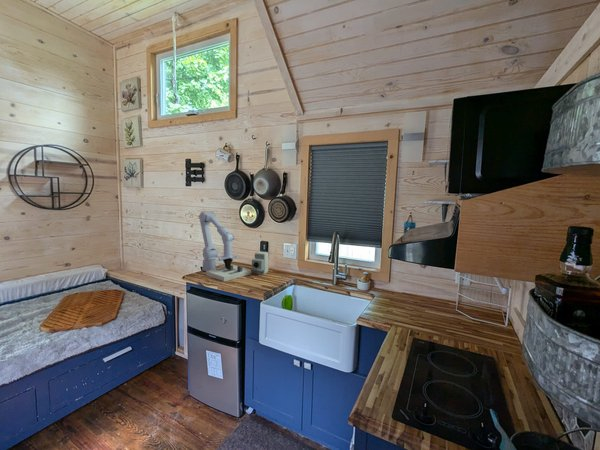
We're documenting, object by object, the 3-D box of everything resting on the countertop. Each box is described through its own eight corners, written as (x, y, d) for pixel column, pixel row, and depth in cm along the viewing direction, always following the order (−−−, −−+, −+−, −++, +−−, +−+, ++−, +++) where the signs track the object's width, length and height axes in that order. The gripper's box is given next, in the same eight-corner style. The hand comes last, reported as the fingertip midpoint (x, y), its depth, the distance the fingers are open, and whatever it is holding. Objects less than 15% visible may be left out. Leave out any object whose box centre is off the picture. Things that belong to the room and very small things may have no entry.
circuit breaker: (250, 275, 205) (251, 255, 203) (259, 270, 218) (259, 251, 217) (260, 276, 203) (260, 256, 201) (268, 271, 216) (268, 252, 214)
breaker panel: (206, 275, 202) (206, 266, 202) (233, 268, 221) (233, 260, 220) (224, 281, 190) (224, 271, 189) (251, 273, 209) (251, 265, 208)
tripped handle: (228, 269, 207) (228, 264, 206) (230, 269, 208) (230, 263, 208) (230, 270, 205) (230, 264, 204) (233, 269, 206) (233, 264, 206)
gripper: (222, 252, 195) (222, 272, 196) (239, 249, 206) (239, 267, 208) (216, 251, 199) (216, 270, 200) (233, 248, 210) (233, 266, 212)
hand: (227, 268), depth 204 cm, fingers closed
